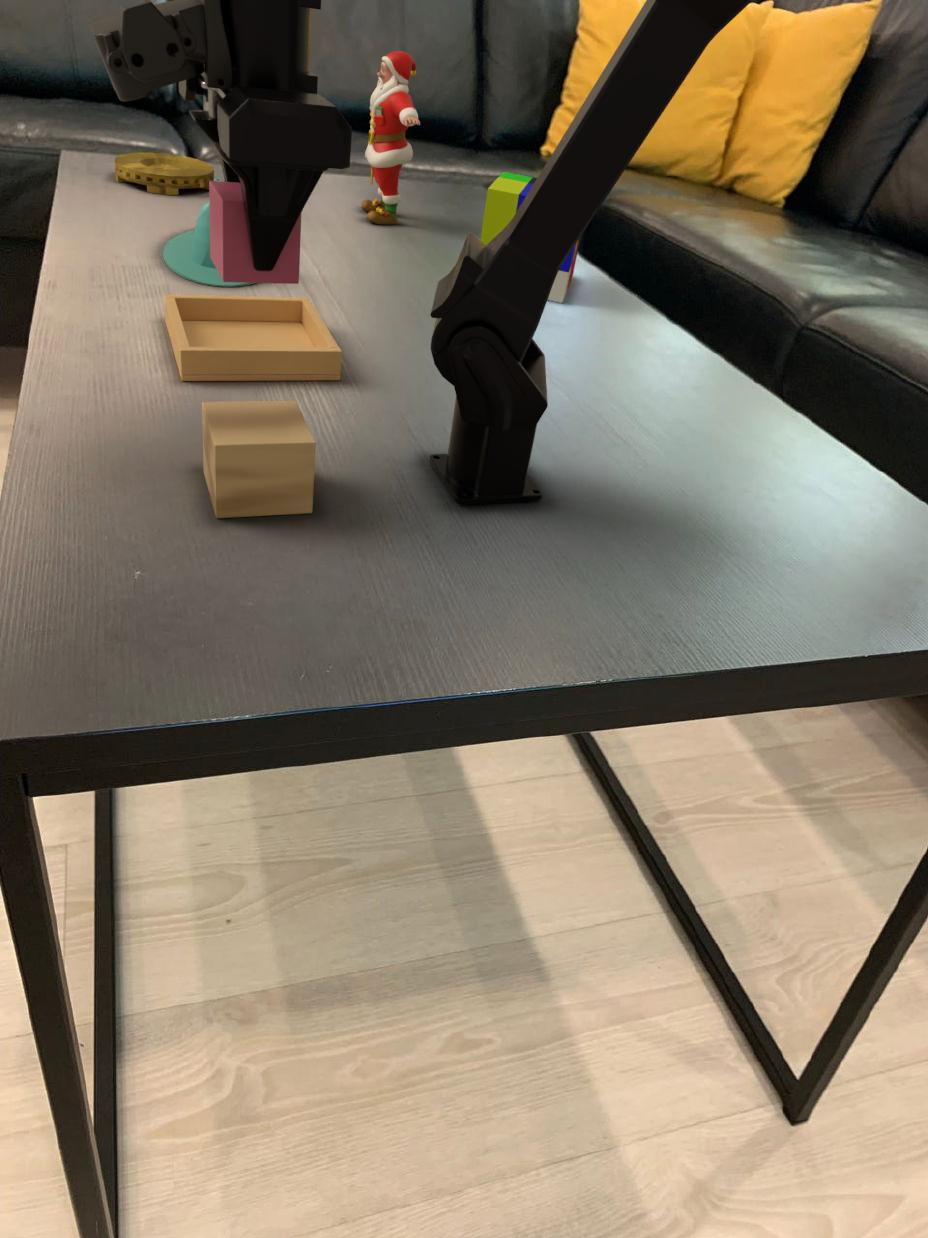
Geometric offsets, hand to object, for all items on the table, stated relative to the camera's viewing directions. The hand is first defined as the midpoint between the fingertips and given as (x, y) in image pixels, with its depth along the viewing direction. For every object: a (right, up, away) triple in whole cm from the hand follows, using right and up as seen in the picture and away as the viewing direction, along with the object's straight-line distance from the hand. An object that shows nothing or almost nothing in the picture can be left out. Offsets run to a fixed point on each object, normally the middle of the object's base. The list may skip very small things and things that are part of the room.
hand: (254, 257), depth 58 cm
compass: (-25, +33, +62) cm, 75 cm away
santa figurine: (+3, +29, +63) cm, 70 cm away
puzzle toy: (+20, +16, +49) cm, 55 cm away
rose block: (0, -1, 0) cm, 1 cm away
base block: (-1, -14, +3) cm, 14 cm away
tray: (-5, 0, +22) cm, 22 cm away
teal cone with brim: (-13, +16, +41) cm, 46 cm away
